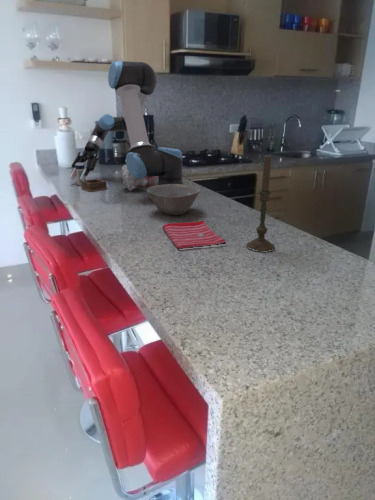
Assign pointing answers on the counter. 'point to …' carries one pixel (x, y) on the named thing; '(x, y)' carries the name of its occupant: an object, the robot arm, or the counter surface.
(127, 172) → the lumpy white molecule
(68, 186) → the counter surface
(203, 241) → the dish towel
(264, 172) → the candlestick holder
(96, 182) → the walnut can stand
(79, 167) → the spice jar
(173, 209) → the ceramic bowl
